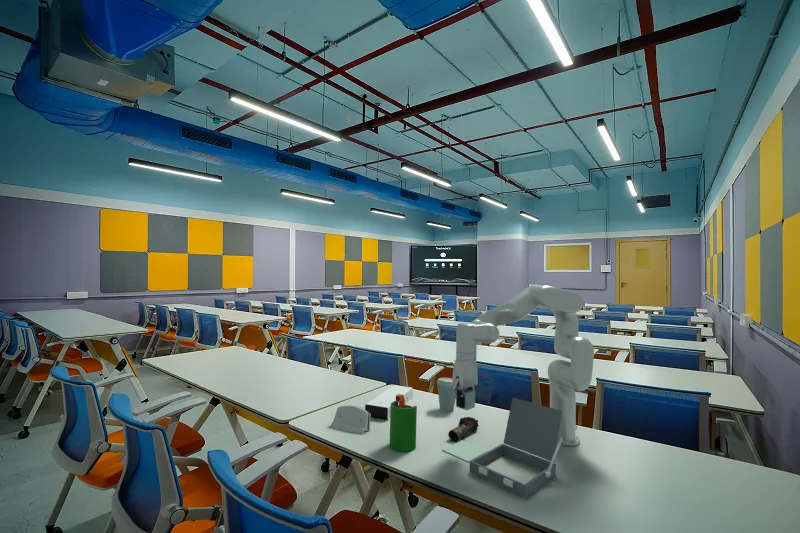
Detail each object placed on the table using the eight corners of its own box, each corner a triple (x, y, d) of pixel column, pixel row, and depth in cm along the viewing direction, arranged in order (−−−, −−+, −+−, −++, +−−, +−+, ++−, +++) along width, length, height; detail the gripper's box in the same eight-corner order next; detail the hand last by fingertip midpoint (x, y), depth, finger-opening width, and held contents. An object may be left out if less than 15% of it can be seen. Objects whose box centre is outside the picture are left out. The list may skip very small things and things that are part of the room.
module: (463, 403, 142) (464, 387, 142) (474, 407, 138) (475, 390, 139) (455, 406, 139) (456, 389, 139) (466, 410, 135) (467, 392, 135)
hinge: (329, 427, 158) (335, 402, 161) (335, 427, 162) (340, 403, 165) (364, 435, 151) (368, 408, 154) (369, 434, 155) (373, 409, 158)
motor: (419, 444, 143) (419, 392, 143) (409, 454, 135) (410, 398, 135) (395, 439, 147) (396, 388, 148) (384, 448, 139) (385, 394, 139)
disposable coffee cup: (443, 404, 189) (443, 374, 189) (462, 409, 182) (462, 378, 183) (432, 410, 180) (432, 379, 180) (452, 415, 174) (452, 383, 174)
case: (506, 450, 139) (506, 419, 140) (563, 472, 124) (563, 437, 124) (468, 472, 123) (468, 437, 123) (528, 501, 108) (528, 460, 108)
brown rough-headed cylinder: (458, 443, 145) (458, 429, 145) (444, 439, 149) (444, 424, 149) (480, 430, 158) (480, 416, 158) (467, 426, 162) (467, 412, 163)
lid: (503, 443, 137) (504, 443, 137) (553, 462, 123) (554, 462, 124) (512, 397, 141) (513, 397, 142) (562, 411, 128) (563, 411, 128)
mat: (461, 441, 147) (461, 440, 147) (487, 451, 138) (487, 450, 138) (442, 450, 138) (442, 449, 138) (468, 462, 130) (468, 461, 130)
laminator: (387, 421, 166) (387, 407, 166) (362, 417, 170) (362, 403, 170) (412, 399, 198) (412, 387, 198) (390, 396, 202) (391, 384, 202)
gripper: (471, 351, 148) (470, 398, 147) (443, 357, 136) (442, 407, 135) (487, 355, 142) (486, 403, 142) (460, 361, 131) (459, 413, 130)
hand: (465, 404), depth 139 cm, fingers closed on module, 5 cm apart
